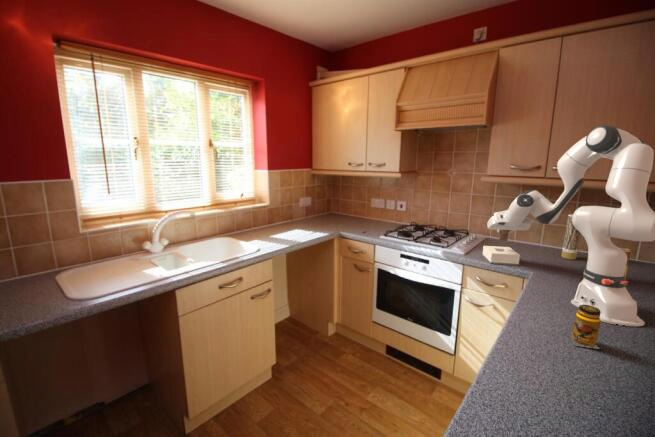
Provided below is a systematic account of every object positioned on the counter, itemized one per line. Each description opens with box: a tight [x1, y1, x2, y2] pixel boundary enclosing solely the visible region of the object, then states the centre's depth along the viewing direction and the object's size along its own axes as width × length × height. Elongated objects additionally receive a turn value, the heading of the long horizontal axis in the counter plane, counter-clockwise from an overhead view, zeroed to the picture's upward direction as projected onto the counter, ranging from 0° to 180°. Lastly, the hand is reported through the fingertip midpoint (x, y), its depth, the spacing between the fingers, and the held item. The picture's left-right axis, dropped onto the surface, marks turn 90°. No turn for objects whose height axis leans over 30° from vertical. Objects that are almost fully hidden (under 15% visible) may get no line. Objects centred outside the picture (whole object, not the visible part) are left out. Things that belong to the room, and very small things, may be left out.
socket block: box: [481, 245, 521, 266], centre depth 176 cm, size 14×14×6 cm
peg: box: [498, 230, 509, 242], centre depth 173 cm, size 4×4×9 cm
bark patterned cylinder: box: [561, 213, 582, 261], centre depth 179 cm, size 7×7×25 cm
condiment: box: [571, 305, 602, 347], centre depth 100 cm, size 7×8×12 cm
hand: (503, 231), depth 174 cm, fingers closed on peg, 4 cm apart
